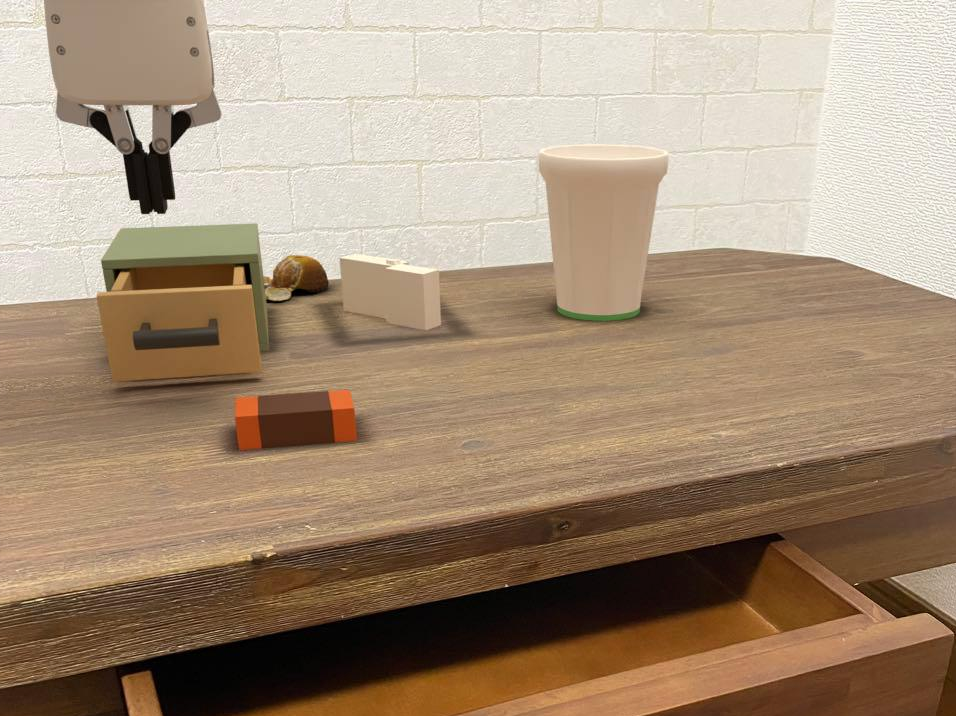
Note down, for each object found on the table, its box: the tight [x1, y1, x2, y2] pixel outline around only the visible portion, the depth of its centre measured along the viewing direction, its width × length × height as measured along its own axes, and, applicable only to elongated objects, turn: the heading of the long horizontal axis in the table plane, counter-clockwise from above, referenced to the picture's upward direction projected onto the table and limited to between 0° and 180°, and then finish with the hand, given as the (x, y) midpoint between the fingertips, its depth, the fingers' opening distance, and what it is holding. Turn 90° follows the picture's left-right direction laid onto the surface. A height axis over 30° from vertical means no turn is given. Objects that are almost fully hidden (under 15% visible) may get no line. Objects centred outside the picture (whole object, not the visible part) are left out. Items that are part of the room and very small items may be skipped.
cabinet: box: [100, 223, 270, 352], centre depth 95 cm, size 15×13×9 cm
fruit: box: [263, 254, 330, 302], centre depth 111 cm, size 8×8×4 cm
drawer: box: [96, 263, 263, 383], centre depth 85 cm, size 18×11×7 cm, turn 14°
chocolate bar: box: [234, 389, 358, 451], centre depth 73 cm, size 8×4×2 cm, turn 104°
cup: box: [538, 143, 670, 322], centre depth 102 cm, size 12×12×15 cm
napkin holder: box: [339, 253, 442, 331], centre depth 101 cm, size 15×11×6 cm
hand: (154, 210), depth 74 cm, fingers closed
